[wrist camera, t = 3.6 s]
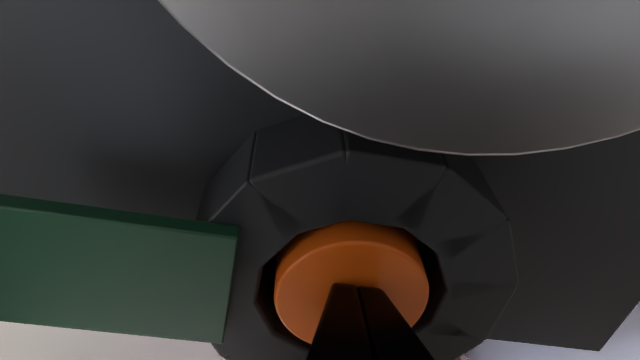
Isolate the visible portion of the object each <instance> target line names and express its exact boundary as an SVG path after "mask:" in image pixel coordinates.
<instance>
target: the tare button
mask: <svg viewBox="0 0 640 360" xmlns="http://www.w3.org/2000/svg"><path fill="white" fill-rule="evenodd" d="M333 283H343V284H351V285H355V286H356V287H359V286H367V287H375V288H380V289H382V290H383V291H384V292H385V293H386V294H387V296H388V297H389V298H390V300H391V301H392V302H393V304H394V305H395V307H396V308H397V309H398V311H399V312H400V313H401V315H402V316H403V317H404V319H405V320H406V321H407V323H408V324H409V325H410V327H412V326H413V325H414V324H415V323H416V322H417V321H418V320H419V318H420V317H421V315H422V314H423V312H424V310H425V307H426V305H427V302H428V297H429V284H428V279H427V276H426V272H425V269H424V266H423V262H422V259H421V256H420V253H419V249H418V246H417V243H416V240H415V236H413V235H412V234H411V233H409V232H408V231H407V230H405V229H404V228H399V227H392V226H385V225H378V224H371V223H364V222H357V221H350V220H346V221H342V222H339V223H335V224H332V225H328V226H325V227H321V228H318V229H314V230H310V231H307V232H303V233H300V234H297V235H296V236H295V237H294V238H293V239H292V240H291V241H290V242H289V243H288V244H286V245H285V246H284V247H283V248H282V249H281V250H280V251H279V252H278V253H277V256H276V272H275V288H274V304H275V308H276V312H277V314H278V316H279V318H280V320H281V321H282V323H283V324H284V326H285V327H286V328H287V329H288V330H289V331H290V332H291V333H293V334H294V335H295V336H297V337H298V338H300V339H301V340H303V341H305V342H307V343H310V344H311V343H312V340H313V338H314V335H315V332H316V329H317V326H318V323H319V320H320V317H321V314H322V312H323V309H324V306H325V303H326V300H327V297H328V294H329V291H330V288H331V286H332V284H333Z"/></svg>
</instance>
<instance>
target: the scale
mask: <svg viewBox="0 0 640 360" xmlns="http://www.w3.org/2000/svg"><path fill="white" fill-rule="evenodd" d="M0 194H7V195H14V196H22V197H29V198H36V199H43V200H51V201H58V202H65V203H73V204H80V205H87V206H95V207H102V208H109V209H116V210H124V211H131V212H138V213H146V214H153V215H160V216H167V217H175V218H182V219H189V220H197V221H204V222H211V223H219V224H226V225H233V226H239V227H240V234H239V241H238V248H237V254H236V261H235V268H234V275H233V281H232V288H231V295H230V302H229V308H228V315H227V322H226V329H225V335H224V341H223V343H222V344H218V343H211V344H212V345H213V347H214V348H215V350H216V351H217V352H218V354H219V355H220V356H223V357H224V358H225V359H226V360H306V358H307V355H308V352H309V349H310V346H311V344H310V343H307V342H305V341H303V340H301V339H300V338H298V337H297V336H295V335H294V334H293V333H291V332H290V331H289V330H288V329H287V328H286V327H285V326H284V324H283V323H282V321H281V320H280V318H279V316H278V314H277V312H276V308H275V304H274V288H275V272H276V256H277V253H278V252H279V251H280V250H281V249H282V248H283V247H284V246H285V245H286V244H288V243H289V242H290V241H291V240H292V239H293V238H294V237H295V236H296V235H297V234H300V233H303V232H307V231H310V230H314V229H318V228H321V227H325V226H328V225H332V224H335V223H339V222H342V221H346V220H350V221H357V222H364V223H371V224H378V225H385V226H392V227H399V228H404V229H405V230H407V231H408V232H409V233H411V234H412V235H413V236H415V240H416V243H417V246H418V249H419V253H420V256H421V259H422V262H423V266H424V269H425V272H426V276H427V279H428V284H429V297H428V302H427V305H426V307H425V310H424V312H423V314H422V315H421V317H420V318H419V320H418V321H417V322H416V323H415V324H414V325H413V326H412V327H411V328H412V329H413V331H414V332H415V333H416V335H417V336H418V338H419V339H420V340H421V342H422V343H423V344H424V346H425V347H426V348H427V350H428V351H429V352H430V354H431V355H432V356H433V358H434V359H435V360H455V359H457V358H458V357H460V356H462V355H463V354H465V353H466V352H468V351H469V350H471V349H473V348H474V347H476V346H477V345H479V344H480V343H482V342H483V340H486V339H495V340H504V341H513V342H521V343H530V344H539V345H548V346H557V347H566V348H575V349H583V350H592V351H600V350H601V348H602V347H603V346H604V345H605V343H606V342H607V341H608V340H609V339H610V337H611V336H612V335H613V334H614V332H615V331H616V330H617V329H618V327H619V326H620V325H621V324H622V322H623V321H624V320H625V319H626V317H627V316H628V315H629V314H630V312H631V311H632V310H633V309H634V307H635V306H636V305H637V304H638V302H639V301H640V130H638V131H635V132H632V133H629V134H626V135H623V136H620V137H617V138H612V139H608V140H604V141H599V142H595V143H591V144H586V145H582V146H577V147H573V148H569V149H563V150H555V151H547V152H538V153H530V154H522V155H498V156H463V155H453V154H444V153H434V152H425V151H417V150H412V149H408V148H404V147H399V146H395V145H391V144H386V143H382V142H378V141H373V140H369V139H366V138H364V137H361V136H358V135H355V134H353V133H350V132H347V131H345V130H342V129H339V128H336V127H334V126H331V125H328V124H325V123H323V122H320V121H318V120H317V119H315V118H313V117H311V116H309V115H307V114H305V113H303V112H301V111H299V110H297V109H295V108H293V107H291V106H289V105H287V104H285V103H283V102H282V101H280V100H278V99H276V98H274V97H272V96H271V95H269V94H268V93H266V92H265V91H263V90H262V89H261V88H259V87H258V86H256V85H255V84H253V83H252V82H250V81H249V80H247V79H246V78H244V77H243V76H241V75H240V74H239V73H237V72H236V71H234V70H233V69H231V68H230V67H228V66H227V65H226V64H224V63H223V62H222V61H221V60H220V59H219V58H218V57H216V56H215V55H214V54H213V53H212V52H211V51H210V50H208V49H207V48H206V47H205V46H204V45H203V44H201V43H200V42H199V41H198V40H197V39H196V38H195V37H193V36H192V35H191V34H190V33H189V32H188V31H187V30H185V29H184V28H183V27H182V26H181V25H180V24H179V23H178V22H177V21H176V20H175V19H174V18H173V17H172V16H171V14H170V13H169V12H168V11H167V10H166V9H165V8H164V7H163V6H162V5H161V4H160V2H159V1H158V0H0Z"/></svg>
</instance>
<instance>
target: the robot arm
mask: <svg viewBox="0 0 640 360" xmlns="http://www.w3.org/2000/svg"><path fill="white" fill-rule="evenodd" d="M306 360H435V359H434V358H433V356H432V355H431V354H430V352H429V351H428V350H427V348H426V347H425V346H424V344H423V343H422V342H421V340H420V339H419V338H418V336H417V335H416V333H415V332H414V331H413V329H412V328H411V327H410V325H409V324H408V323H407V321H406V320H405V319H404V317H403V316H402V315H401V313H400V312H399V311H398V309H397V308H396V307H395V305H394V304H393V302H392V301H391V300H390V298H389V297H388V296H387V294H386V293H385V292H384V291H383V290H382V289H380V288H375V287H367V286H359V287H356V286H355V285H351V284H343V283H333V284H332V286H331V288H330V291H329V294H328V297H327V300H326V303H325V306H324V309H323V312H322V314H321V317H320V320H319V323H318V326H317V329H316V332H315V335H314V338H313V340H312V343H311V346H310V349H309V352H308V355H307V358H306Z"/></svg>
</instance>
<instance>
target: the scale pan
mask: <svg viewBox="0 0 640 360" xmlns="http://www.w3.org/2000/svg"><path fill="white" fill-rule="evenodd" d="M158 1H159V2H160V4H161V5H162V6H163V7H164V8H165V9H166V10H167V11H168V12H169V13H170V14H171V16H172V17H173V18H174V19H175V20H176V21H177V22H178V23H179V24H180V25H181V26H182V27H183V28H184V29H185V30H187V31H188V32H189V33H190V34H191V35H192V36H193V37H195V38H196V39H197V40H198V41H199V42H200V43H201V44H203V45H204V46H205V47H206V48H207V49H208V50H210V51H211V52H212V53H213V54H214V55H215V56H216V57H218V58H219V59H220V60H221V61H222V62H223V63H224V64H226V65H227V66H228V67H230V68H231V69H233V70H234V71H236V72H237V73H239V74H240V75H241V76H243V77H244V78H246V79H247V80H249V81H250V82H252V83H253V84H255V85H256V86H258V87H259V88H261V89H262V90H263V91H265V92H266V93H268V94H269V95H271V96H272V97H274V98H276V99H278V100H280V101H282V102H283V103H285V104H287V105H289V106H291V107H293V108H295V109H297V110H299V111H301V112H303V113H305V114H307V115H309V116H311V117H313V118H315V119H317V120H318V121H320V122H323V123H325V124H328V125H331V126H334V127H336V128H339V129H342V130H345V131H347V132H350V133H353V134H355V135H358V136H361V137H364V138H366V139H369V140H373V141H378V142H382V143H386V144H391V145H395V146H399V147H404V148H408V149H412V150H417V151H425V152H434V153H444V154H453V155H463V156H498V155H522V154H530V153H538V152H547V151H555V150H563V149H569V148H573V147H577V146H582V145H586V144H591V143H595V142H599V141H604V140H608V139H612V138H617V137H620V136H623V135H626V134H629V133H632V132H635V131H638V130H640V0H158ZM239 234H240V227H239V226H233V225H226V224H219V223H211V222H204V221H197V220H189V219H182V218H175V217H167V216H160V215H153V214H146V213H138V212H131V211H124V210H116V209H109V208H102V207H95V206H87V205H80V204H73V203H65V202H58V201H51V200H43V199H36V198H29V197H22V196H14V195H7V194H0V321H5V322H14V323H24V324H34V325H43V326H53V327H63V328H72V329H82V330H92V331H102V332H111V333H121V334H131V335H140V336H150V337H160V338H170V339H179V340H189V341H199V342H208V343H218V344H222V343H223V341H224V335H225V329H226V322H227V315H228V308H229V302H230V295H231V288H232V281H233V275H234V268H235V261H236V254H237V248H238V241H239Z"/></svg>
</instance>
